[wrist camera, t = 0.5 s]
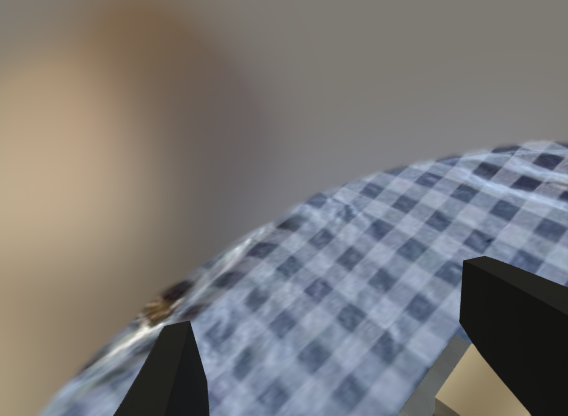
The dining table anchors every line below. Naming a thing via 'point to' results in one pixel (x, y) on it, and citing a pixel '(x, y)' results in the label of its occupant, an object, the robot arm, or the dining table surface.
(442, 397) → the birch peg
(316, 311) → the dining table surface
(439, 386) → the gray peg hole board
